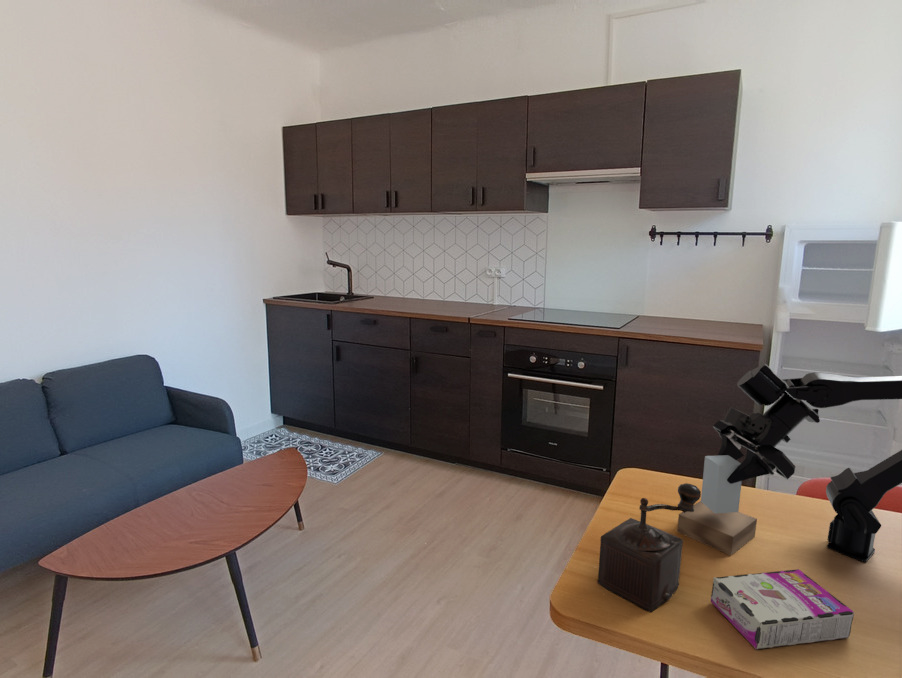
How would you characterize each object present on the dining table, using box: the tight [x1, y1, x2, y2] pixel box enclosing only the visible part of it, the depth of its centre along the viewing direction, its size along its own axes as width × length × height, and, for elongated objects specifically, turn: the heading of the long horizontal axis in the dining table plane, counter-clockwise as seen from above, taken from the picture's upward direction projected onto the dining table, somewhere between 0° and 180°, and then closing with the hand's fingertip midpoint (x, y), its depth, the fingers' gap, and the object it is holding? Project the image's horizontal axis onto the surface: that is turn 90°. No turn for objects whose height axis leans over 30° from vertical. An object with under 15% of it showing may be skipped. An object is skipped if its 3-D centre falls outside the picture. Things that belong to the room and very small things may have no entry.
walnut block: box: [676, 500, 758, 556], centre depth 112 cm, size 11×11×4 cm
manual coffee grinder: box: [597, 482, 702, 613], centre depth 95 cm, size 16×11×18 cm
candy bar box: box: [710, 568, 855, 650], centre depth 87 cm, size 11×5×16 cm
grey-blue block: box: [700, 454, 743, 513], centre depth 109 cm, size 5×5×10 cm
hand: (720, 476), depth 109 cm, fingers closed on grey-blue block, 5 cm apart
